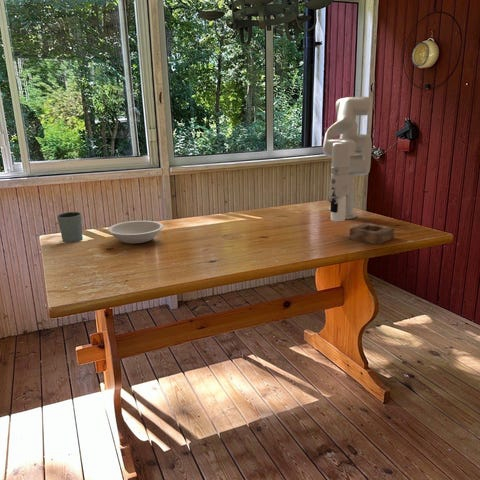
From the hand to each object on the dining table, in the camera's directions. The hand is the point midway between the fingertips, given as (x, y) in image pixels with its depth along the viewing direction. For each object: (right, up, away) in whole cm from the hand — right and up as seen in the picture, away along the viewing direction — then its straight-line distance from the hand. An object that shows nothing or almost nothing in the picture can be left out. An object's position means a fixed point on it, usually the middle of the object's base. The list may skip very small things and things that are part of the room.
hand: (338, 210), depth 202 cm
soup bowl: (-90, -14, -2) cm, 91 cm away
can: (0, -5, +2) cm, 5 cm away
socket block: (+14, -13, -3) cm, 19 cm away
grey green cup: (-120, -14, +1) cm, 120 cm away
